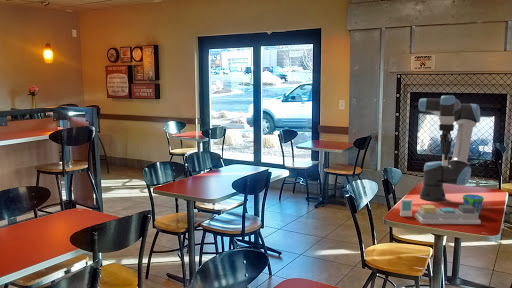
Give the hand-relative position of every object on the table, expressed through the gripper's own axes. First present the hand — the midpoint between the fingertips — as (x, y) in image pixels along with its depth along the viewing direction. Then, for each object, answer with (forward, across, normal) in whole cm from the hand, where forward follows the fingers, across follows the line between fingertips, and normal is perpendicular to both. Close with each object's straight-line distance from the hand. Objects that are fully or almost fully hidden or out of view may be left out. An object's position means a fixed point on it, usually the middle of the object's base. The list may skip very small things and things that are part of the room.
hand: (444, 165), depth 263 cm
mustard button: (+23, +18, -14) cm, 32 cm away
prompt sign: (+26, +9, -23) cm, 36 cm away
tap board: (+26, +18, -4) cm, 32 cm away
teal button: (+24, +18, -4) cm, 30 cm away
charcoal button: (+23, +18, +6) cm, 30 cm away
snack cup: (+27, +6, +14) cm, 31 cm away
